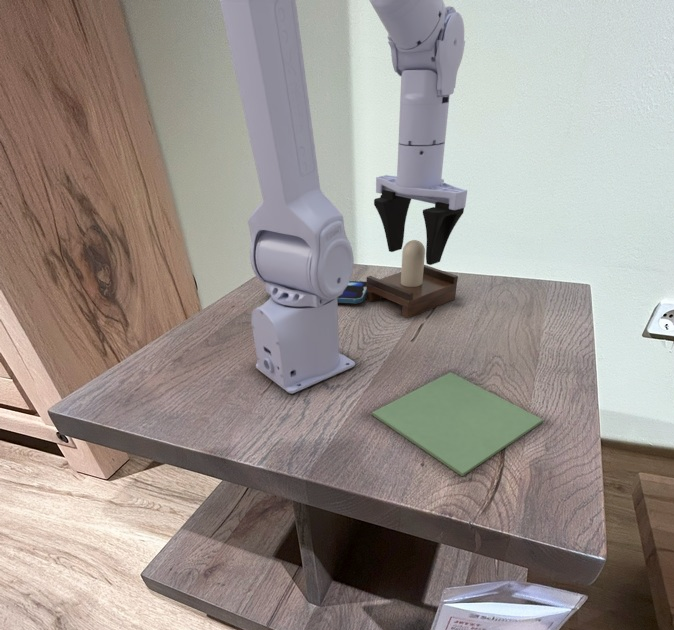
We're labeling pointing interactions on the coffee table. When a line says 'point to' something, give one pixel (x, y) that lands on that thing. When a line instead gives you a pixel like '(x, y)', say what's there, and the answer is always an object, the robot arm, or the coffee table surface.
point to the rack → (414, 291)
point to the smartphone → (353, 292)
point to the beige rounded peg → (412, 264)
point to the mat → (457, 421)
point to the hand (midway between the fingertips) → (413, 256)
